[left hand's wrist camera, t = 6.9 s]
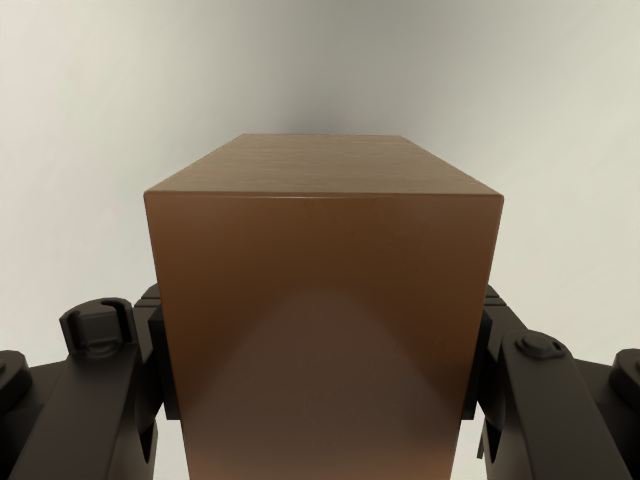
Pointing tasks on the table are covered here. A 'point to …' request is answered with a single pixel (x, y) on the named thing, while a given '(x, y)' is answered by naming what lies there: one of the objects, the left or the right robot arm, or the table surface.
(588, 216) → the table surface
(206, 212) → the post
